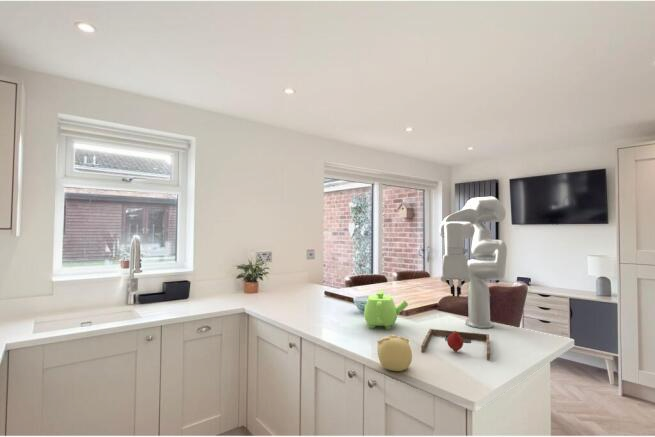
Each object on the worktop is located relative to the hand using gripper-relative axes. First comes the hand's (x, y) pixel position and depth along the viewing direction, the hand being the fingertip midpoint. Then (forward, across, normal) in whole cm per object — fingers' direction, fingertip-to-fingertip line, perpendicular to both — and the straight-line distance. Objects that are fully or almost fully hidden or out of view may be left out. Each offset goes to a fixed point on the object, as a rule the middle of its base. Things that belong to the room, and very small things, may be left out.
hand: (455, 295), depth 144 cm
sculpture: (+19, +18, +34) cm, 43 cm away
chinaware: (+19, +51, -37) cm, 66 cm away
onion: (+19, 0, +11) cm, 22 cm away
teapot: (+19, +34, -16) cm, 42 cm away
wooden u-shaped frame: (+19, 0, +4) cm, 20 cm away
